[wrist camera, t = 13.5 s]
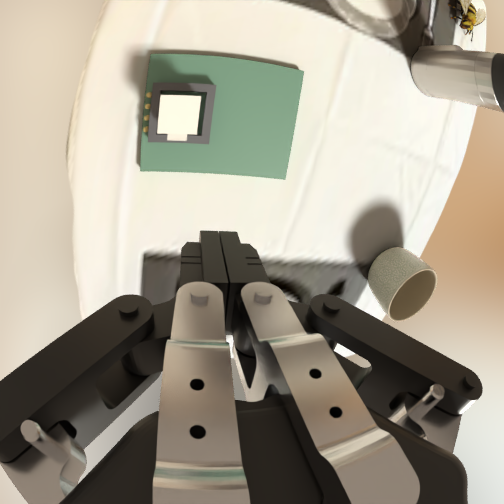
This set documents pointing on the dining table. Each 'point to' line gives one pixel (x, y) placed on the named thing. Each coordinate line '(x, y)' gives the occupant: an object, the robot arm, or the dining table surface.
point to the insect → (469, 15)
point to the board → (223, 115)
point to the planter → (401, 283)
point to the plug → (178, 116)
